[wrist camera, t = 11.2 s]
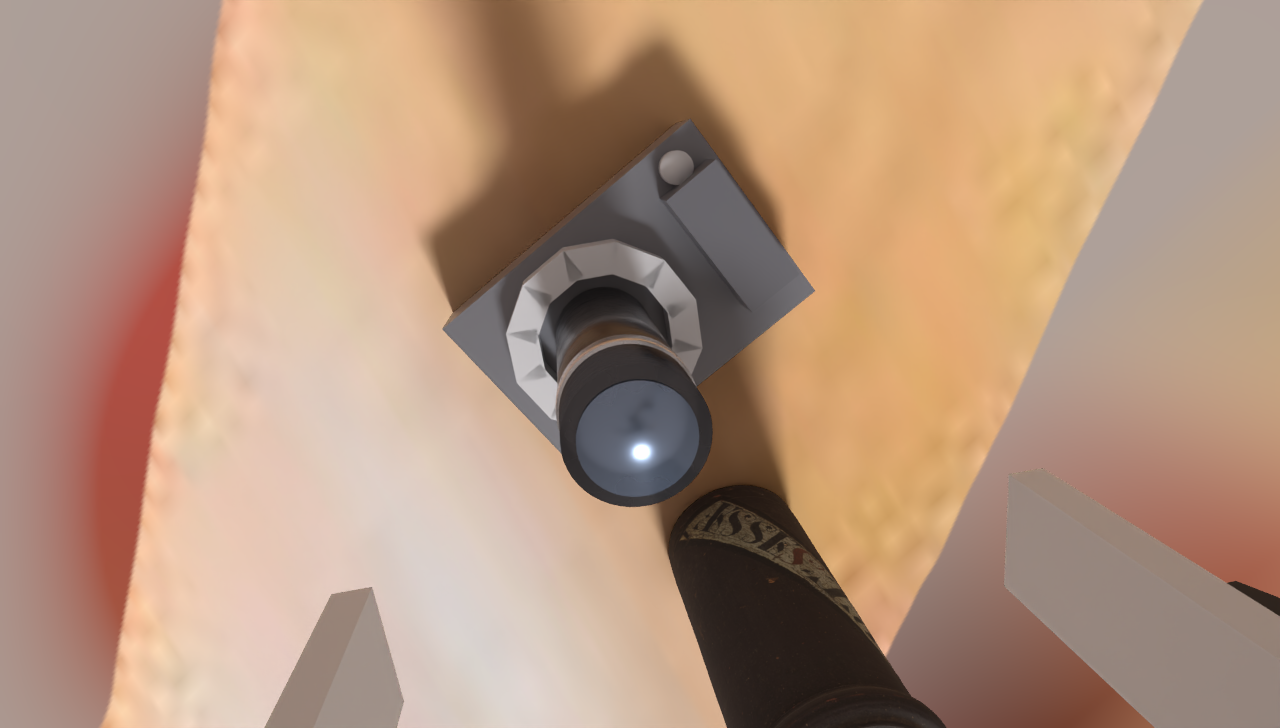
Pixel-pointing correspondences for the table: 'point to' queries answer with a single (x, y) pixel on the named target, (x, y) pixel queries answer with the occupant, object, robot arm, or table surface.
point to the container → (779, 622)
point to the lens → (625, 403)
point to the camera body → (637, 273)
